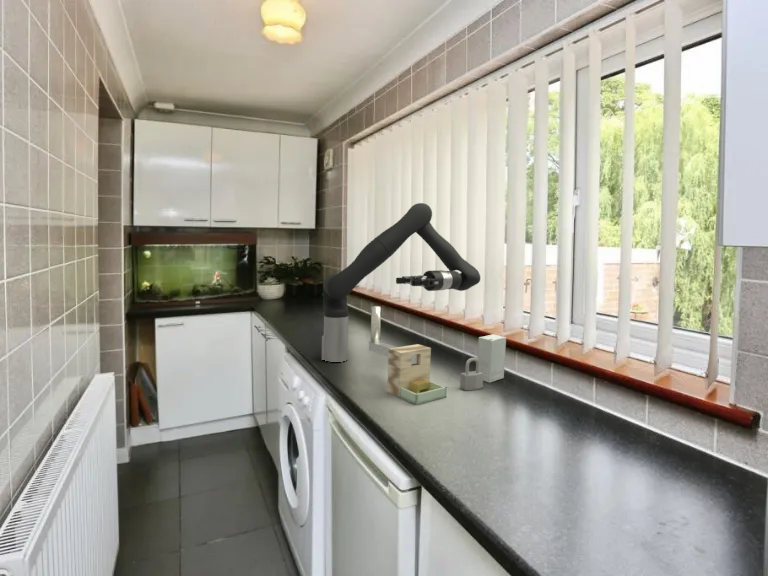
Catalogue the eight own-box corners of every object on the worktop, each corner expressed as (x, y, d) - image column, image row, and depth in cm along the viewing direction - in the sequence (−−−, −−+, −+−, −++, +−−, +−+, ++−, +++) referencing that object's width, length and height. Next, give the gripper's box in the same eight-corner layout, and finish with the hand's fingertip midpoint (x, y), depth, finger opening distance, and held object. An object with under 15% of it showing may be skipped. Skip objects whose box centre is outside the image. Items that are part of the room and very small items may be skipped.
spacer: (409, 393, 135) (409, 381, 135) (422, 390, 138) (422, 378, 138) (417, 397, 132) (417, 384, 132) (430, 393, 136) (430, 381, 135)
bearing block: (387, 391, 138) (388, 348, 137) (416, 384, 146) (418, 344, 144) (399, 397, 134) (401, 352, 132) (429, 390, 141) (430, 347, 140)
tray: (400, 397, 133) (400, 387, 133) (429, 390, 141) (430, 381, 140) (416, 405, 128) (416, 394, 127) (446, 397, 135) (446, 387, 135)
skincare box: (490, 374, 160) (492, 333, 158) (504, 379, 155) (507, 336, 153) (475, 378, 154) (477, 336, 153) (489, 383, 150) (492, 339, 148)
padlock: (476, 384, 148) (477, 355, 147) (484, 388, 144) (485, 358, 143) (458, 387, 144) (460, 357, 143) (466, 391, 141) (468, 360, 140)
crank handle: (368, 350, 153) (369, 306, 152) (376, 348, 155) (377, 305, 154) (409, 364, 136) (411, 316, 135) (417, 363, 138) (419, 315, 137)
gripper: (424, 269, 174) (392, 269, 164) (451, 271, 162) (418, 272, 153) (424, 288, 174) (391, 290, 165) (450, 292, 163) (417, 294, 153)
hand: (404, 281), depth 159 cm, fingers open, 8 cm apart
